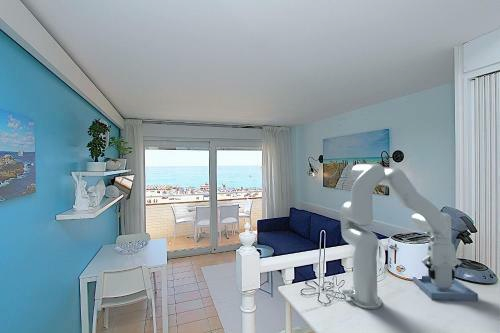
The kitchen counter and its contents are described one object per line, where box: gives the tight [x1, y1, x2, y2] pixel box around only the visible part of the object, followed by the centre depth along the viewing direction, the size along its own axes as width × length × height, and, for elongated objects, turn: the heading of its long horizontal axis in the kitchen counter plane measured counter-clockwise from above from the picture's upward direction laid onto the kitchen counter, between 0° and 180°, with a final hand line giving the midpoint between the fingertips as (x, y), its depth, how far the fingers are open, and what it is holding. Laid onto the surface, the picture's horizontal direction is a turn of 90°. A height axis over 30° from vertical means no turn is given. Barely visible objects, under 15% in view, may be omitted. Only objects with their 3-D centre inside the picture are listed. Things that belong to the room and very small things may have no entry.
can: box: [431, 263, 452, 289], centre depth 110 cm, size 8×8×12 cm
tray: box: [412, 274, 479, 302], centre depth 110 cm, size 18×16×3 cm
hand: (441, 277), depth 110 cm, fingers closed on can, 7 cm apart
